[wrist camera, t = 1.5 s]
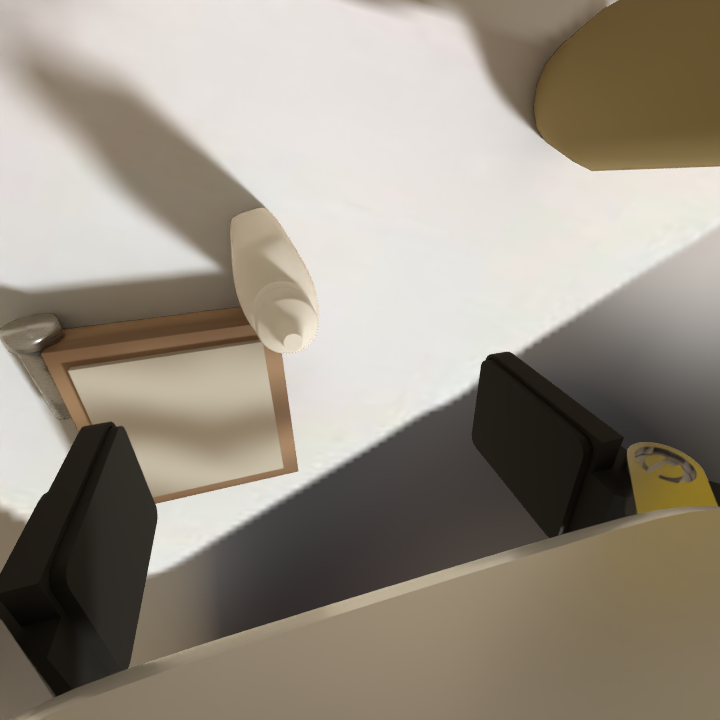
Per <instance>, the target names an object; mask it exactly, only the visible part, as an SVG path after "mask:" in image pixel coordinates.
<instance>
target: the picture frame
mask: <svg viewBox="0 0 720 720" xmlns="http://www.w3.org/2000/svg"><path fill="white" fill-rule="evenodd" d="M63 331H64V333H65V335H64V337H63V338H62V339H61V340H60V341H59V342H57V343H55V344H54V345H52V346H49V347H47V348H45V349H44V351H43V352H42V353H41V355H42V357H43V359H44V361H45V363H46V365H47V367H48V369H49V372H50V374H51V376H52V378H53V380H54V382H55V384H56V386H57V388H58V390H59V392H60V394H61V396H62V398H63V400H64V402H65V405H66V407H67V409H68V411H69V413H70V415H71V417H72V419H73V421H74V423H75V425H76V427H77V429H78V431H80V429H81V428H82V427H84V426H87V425H93V424H99V423H104V422H110V421H111V422H113V423H114V424H115V425H116V427H117V426H123V427H124V428H125V430H126V432H127V435H128V437H129V440H130V442H131V445H132V447H133V450H134V452H135V455H136V457H137V460H138V462H139V465H140V467H141V470H142V472H143V475H144V477H145V480H146V482H147V485H148V487H149V490H150V492H151V495H152V497H153V500H154V502H155V504H157V503H161V502H165V501H170V500H174V499H179V498H183V497H187V496H192V495H196V494H201V493H205V492H209V491H214V490H218V489H223V488H227V487H231V486H236V485H240V484H245V483H249V482H253V481H258V480H262V479H267V478H271V477H275V476H280V475H284V474H289V473H293V472H297V471H298V465H297V458H296V451H295V444H294V437H293V430H292V423H291V416H290V409H289V402H288V395H287V388H286V381H285V374H284V367H283V360H282V353H279V352H278V353H277V352H274V351H273V350H271V349H268V347H266V346H265V345H263V343H261V341H260V339H259V338H258V335H257V333H256V331H255V330H254V329H253V327H252V326H251V325H250V323H249V321H248V320H247V318H246V316H245V314H244V312H243V310H242V307H235V308H227V309H219V310H211V311H203V312H196V313H188V314H180V315H172V316H164V317H156V318H149V319H141V320H133V321H125V322H117V323H110V324H102V325H94V326H86V327H78V328H70V329H63Z"/></svg>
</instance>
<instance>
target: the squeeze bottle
mask: <svg viewBox="0 0 720 720" xmlns="http://www.w3.org/2000/svg"><path fill="white" fill-rule="evenodd" d="M534 114H535V120H536V126H537V129H538V131H539V132H540V134H541V135H542V137H543V138H544V140H545V142H547V143H548V144H549V145H551V146H552V147H554V148H555V149H556V150H558V151H559V152H561V153H562V154H563V155H565V156H566V157H568V158H569V159H570V160H572V161H573V162H575V163H577V164H579V165H581V166H583V167H585V168H587V169H589V170H591V171H605V170H632V169H659V168H687V167H714V166H720V0H619V1H617V2H615V3H613V4H612V5H610V6H608V7H606V8H605V9H603V10H602V11H601V12H599V13H598V14H597V15H596V16H595V17H594V18H592V19H591V20H590V21H589V22H588V23H587V24H585V25H584V26H583V27H582V28H581V29H580V30H578V31H577V32H576V33H575V34H574V35H573V36H571V37H570V38H569V39H568V40H567V41H566V42H564V43H563V44H562V45H561V46H560V47H559V48H558V50H557V51H556V52H555V53H554V54H553V56H552V57H551V58H550V59H549V60H548V62H547V63H546V65H545V67H544V70H543V72H542V74H541V77H540V79H539V81H538V84H537V87H536V94H535V101H534Z"/></svg>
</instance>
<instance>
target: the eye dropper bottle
mask: <svg viewBox="0 0 720 720" xmlns="http://www.w3.org/2000/svg"><path fill="white" fill-rule="evenodd" d="M230 236H231V254H232V268H233V277H234V283H235V288H236V293H237V296H238V299H239V302H240V305H241V307H242V310H243V312H244V314H245V316H246V318H247V320H248V321H249V323H250V325H251V326H252V327H253V329H254V330H255V331H256V333H257V335H258V338H259V339H260V341H261V343H263V345H265V346H266V347H268V349H271V350H273V351H274V352H277V353H278V352H279V353H283V354H284V353H285V354H287V353H289V354H290V353H294V352H295V353H296V352H299V351H300V350H302V349H304V348H305V347H307V346H308V345H309V344H310V343H311V341H313V340H314V338H315V336H316V333H317V330H318V327H319V326H318V324H319V323H318V320H319V309H318V300H317V295H316V291H315V287H314V284H313V281H312V278H311V276H310V274H309V272H308V270H307V268H306V266H305V264H304V262H303V260H302V259H301V257H300V255H299V253H298V252H297V250H296V248H295V247H294V245H293V243H292V242H291V240H290V238H289V237H288V235H287V234H286V232H285V230H284V229H283V227H282V226H281V224H280V223H279V221H278V220H277V219H276V218H275V216H274V215H273V214H272V213H271V212H270V211H269V210H267V209H265V208H257V209H253V210H250V211H247V212H243V213H241V214H238V215H236V216H235V217H233V218H232V221H231V226H230Z"/></svg>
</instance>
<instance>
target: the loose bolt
mask: <svg viewBox="0 0 720 720" xmlns="http://www.w3.org/2000/svg"><path fill="white" fill-rule="evenodd" d="M64 335H65V333H64V331H63V329H62V327H61V325H60V323H59V321H58V319H57V317H56V316H55V315H53V314H36V315H31V316H27V317H23V318H20V319H17V320H15V321H12V322H10V323H8V324H6V325H4V326H3V327H1V328H0V339H1V340H2V342H3V343H4V345H5V347H6V348H7V350H8V351H9V352H10V353H13V354H17V355H18V357H19V358H20V360H21V361H22V363H23V365H24V366H25V368H26V370H27V371H28V373H29V374H30V376H31V378H32V379H33V381H34V383H35V384H36V386H37V388H38V389H39V391H40V392H41V394H42V396H43V397H44V399H45V401H46V402H47V404H48V405H49V407H50V409H51V410H52V412H53V414H54V415H55V417H56V418H57V419H68V418H71V415H70V413H69V411H68V409H67V407H66V405H65V402H64V400H63V398H62V396H61V394H60V392H59V390H58V388H57V386H56V384H55V382H54V380H53V378H52V376H51V374H50V372H49V369H48V367H47V365H46V363H45V361H44V359H43V357H42V355H41V353H42V352H43V351H44V349H45V348H47V347H49V346H52V345H54V344H55V343H57V342H59V341H60V340H61V339H62V338H63V337H64Z"/></svg>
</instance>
